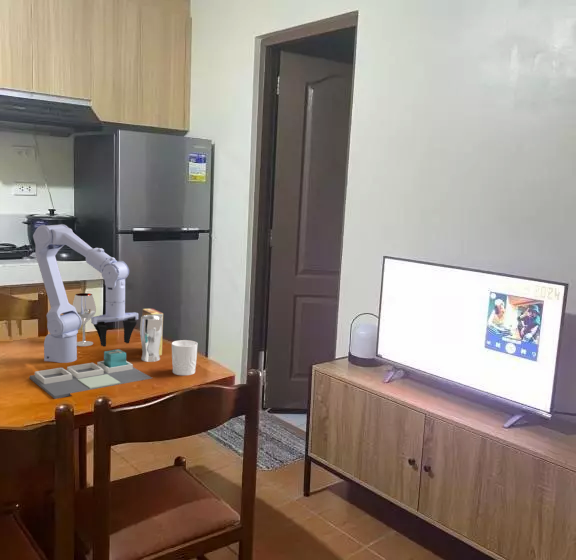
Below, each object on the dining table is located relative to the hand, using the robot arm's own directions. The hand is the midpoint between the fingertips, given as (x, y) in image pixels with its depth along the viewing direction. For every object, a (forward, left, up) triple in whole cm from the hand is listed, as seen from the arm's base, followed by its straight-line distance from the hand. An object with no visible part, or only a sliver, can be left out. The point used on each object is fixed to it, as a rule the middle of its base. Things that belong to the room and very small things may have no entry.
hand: (115, 344), depth 188 cm
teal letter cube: (0, 0, -8) cm, 8 cm away
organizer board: (-3, -10, -8) cm, 14 cm away
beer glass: (+8, +12, -9) cm, 17 cm away
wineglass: (-21, +27, -9) cm, 35 cm away
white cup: (+22, +1, -9) cm, 23 cm away
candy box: (+6, +20, -9) cm, 22 cm away
